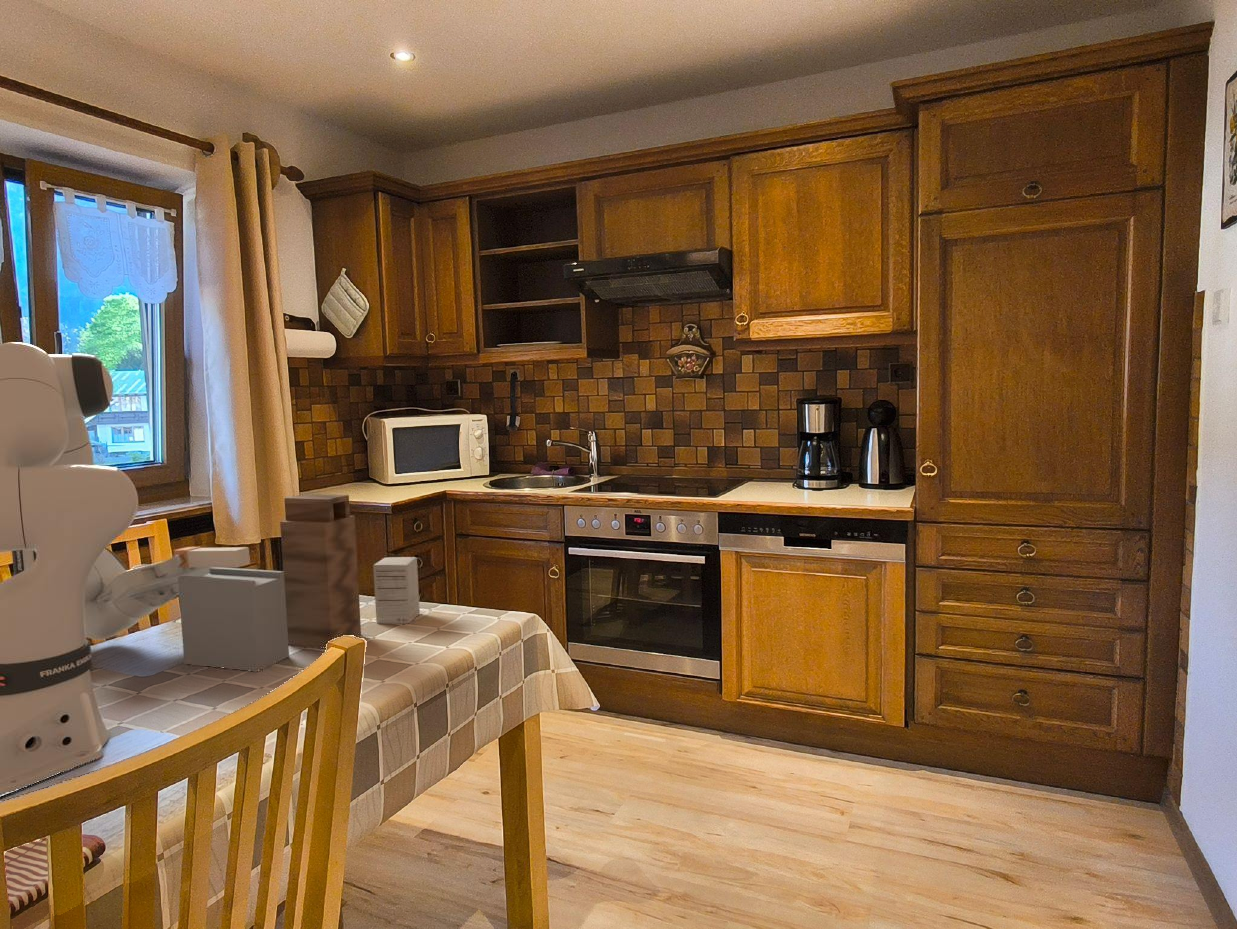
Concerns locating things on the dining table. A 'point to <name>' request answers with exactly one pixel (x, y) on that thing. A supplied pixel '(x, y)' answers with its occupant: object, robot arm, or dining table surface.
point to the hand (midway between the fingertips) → (191, 555)
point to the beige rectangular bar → (214, 557)
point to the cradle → (234, 618)
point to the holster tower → (320, 569)
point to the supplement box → (396, 589)
